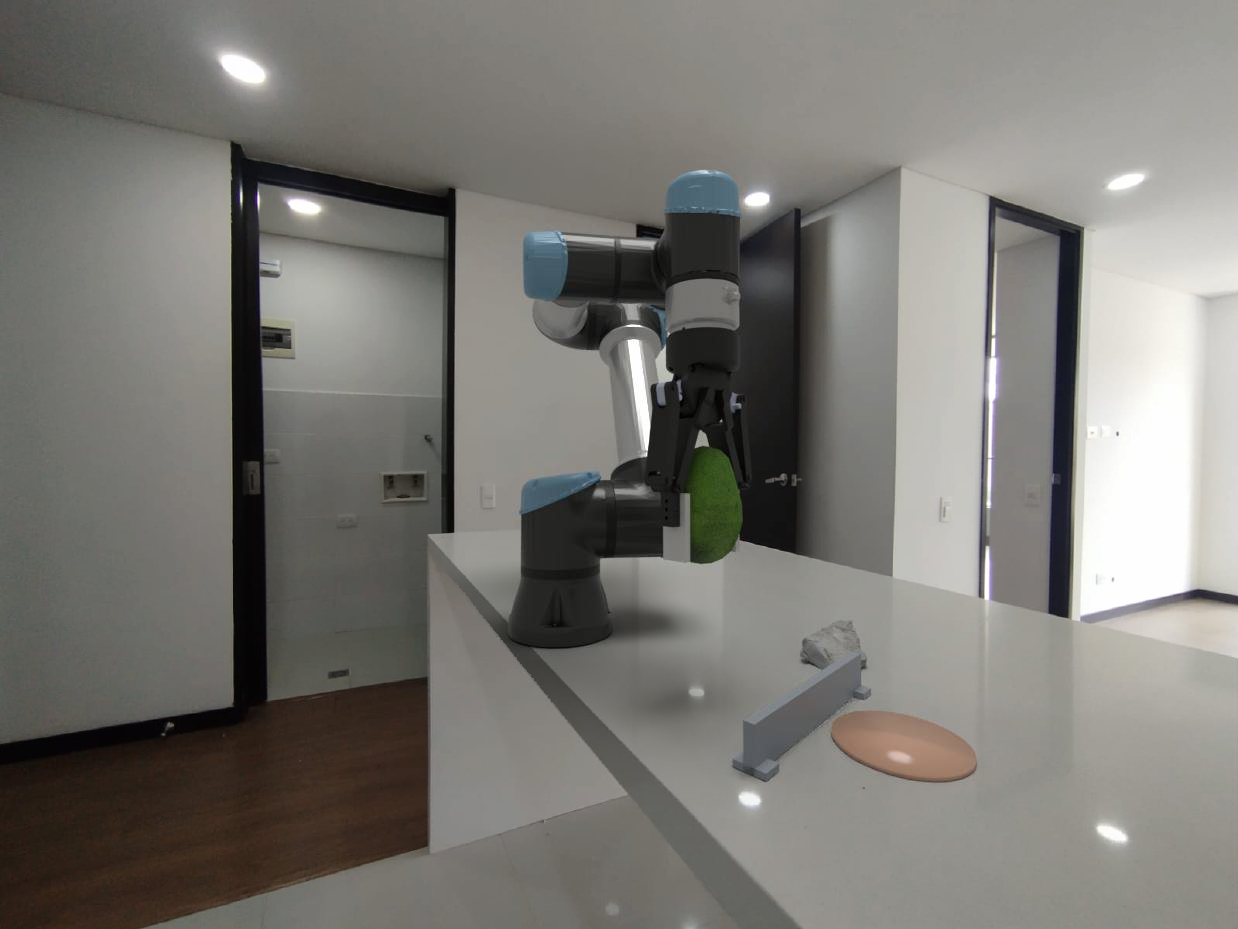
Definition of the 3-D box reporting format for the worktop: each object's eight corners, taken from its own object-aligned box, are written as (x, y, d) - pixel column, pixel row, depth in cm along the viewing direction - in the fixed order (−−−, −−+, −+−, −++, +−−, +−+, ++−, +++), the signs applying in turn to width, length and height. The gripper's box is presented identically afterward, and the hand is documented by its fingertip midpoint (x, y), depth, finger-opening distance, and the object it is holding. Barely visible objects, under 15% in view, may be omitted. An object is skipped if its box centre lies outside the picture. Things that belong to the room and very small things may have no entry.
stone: (892, 658, 68) (891, 626, 68) (844, 681, 60) (844, 643, 60) (843, 646, 73) (843, 616, 73) (793, 665, 65) (793, 631, 65)
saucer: (810, 745, 46) (810, 740, 46) (858, 704, 54) (858, 700, 54) (957, 800, 38) (957, 794, 38) (989, 743, 46) (989, 738, 46)
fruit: (737, 572, 49) (736, 443, 49) (655, 567, 52) (654, 445, 52) (747, 558, 57) (747, 446, 57) (675, 554, 60) (674, 447, 60)
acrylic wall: (732, 766, 43) (732, 716, 43) (842, 685, 58) (842, 649, 58) (766, 781, 41) (766, 729, 41) (871, 693, 56) (870, 655, 56)
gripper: (665, 303, 45) (666, 575, 45) (785, 343, 59) (785, 547, 59) (603, 320, 50) (604, 564, 50) (727, 353, 65) (728, 541, 65)
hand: (703, 554), depth 55 cm, fingers closed on fruit, 8 cm apart
